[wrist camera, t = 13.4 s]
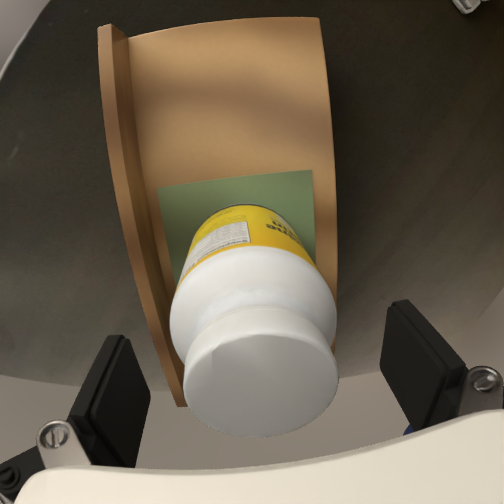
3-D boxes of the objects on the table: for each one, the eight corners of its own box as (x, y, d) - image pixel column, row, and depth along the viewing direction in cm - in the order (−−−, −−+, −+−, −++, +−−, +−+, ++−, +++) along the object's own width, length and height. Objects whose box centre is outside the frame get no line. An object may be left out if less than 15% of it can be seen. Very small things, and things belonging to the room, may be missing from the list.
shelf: (316, 319, 29) (345, 386, 21) (187, 335, 29) (177, 407, 20) (298, 41, 20) (334, 0, 12) (140, 60, 20) (97, 27, 11)
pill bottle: (300, 291, 21) (358, 434, 10) (201, 305, 21) (185, 458, 10) (292, 192, 18) (377, 282, 8) (181, 208, 18) (121, 319, 7)
